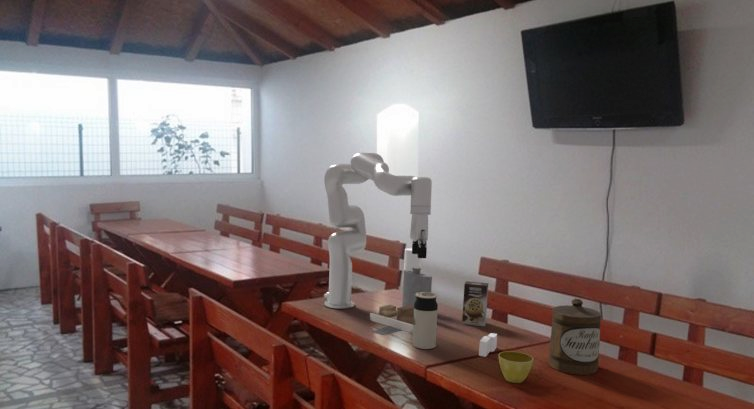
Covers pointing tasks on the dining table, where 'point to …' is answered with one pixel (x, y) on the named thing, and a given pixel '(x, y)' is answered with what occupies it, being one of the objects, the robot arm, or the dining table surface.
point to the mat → (386, 330)
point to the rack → (391, 322)
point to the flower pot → (515, 365)
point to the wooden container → (575, 339)
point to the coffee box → (475, 303)
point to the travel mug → (425, 320)
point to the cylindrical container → (411, 260)
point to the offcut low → (389, 315)
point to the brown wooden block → (406, 314)
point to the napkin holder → (487, 344)
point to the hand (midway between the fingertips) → (419, 255)
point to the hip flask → (414, 285)
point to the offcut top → (387, 309)
